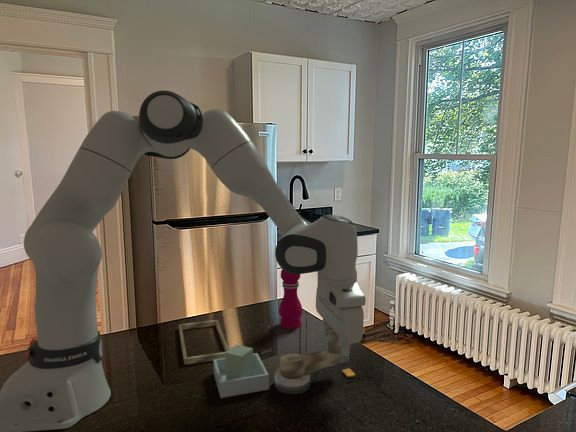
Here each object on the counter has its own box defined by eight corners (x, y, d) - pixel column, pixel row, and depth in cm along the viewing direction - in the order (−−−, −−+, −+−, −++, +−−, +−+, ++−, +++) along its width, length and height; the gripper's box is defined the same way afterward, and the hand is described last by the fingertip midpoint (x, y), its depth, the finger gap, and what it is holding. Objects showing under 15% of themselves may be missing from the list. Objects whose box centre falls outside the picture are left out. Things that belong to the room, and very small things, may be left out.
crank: (285, 380, 90) (285, 343, 89) (276, 368, 96) (276, 333, 94) (344, 367, 96) (344, 332, 95) (332, 356, 101) (333, 323, 100)
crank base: (280, 397, 89) (280, 384, 89) (270, 378, 97) (270, 367, 97) (360, 382, 95) (360, 370, 95) (345, 365, 103) (345, 354, 102)
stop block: (242, 386, 93) (242, 356, 92) (226, 381, 95) (225, 352, 94) (253, 376, 97) (252, 348, 96) (237, 372, 99) (236, 344, 98)
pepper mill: (300, 330, 123) (300, 264, 120) (276, 328, 125) (275, 263, 122) (304, 320, 130) (304, 258, 127) (281, 319, 132) (281, 257, 129)
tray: (220, 398, 89) (220, 382, 89) (213, 373, 99) (213, 359, 99) (268, 389, 92) (268, 374, 92) (257, 366, 102) (257, 352, 102)
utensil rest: (184, 365, 103) (183, 359, 103) (178, 329, 125) (178, 324, 124) (230, 357, 107) (230, 352, 107) (217, 324, 128) (217, 319, 128)
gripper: (309, 275, 103) (309, 328, 105) (340, 303, 83) (339, 368, 85) (333, 273, 105) (333, 325, 107) (369, 300, 85) (367, 364, 87)
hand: (336, 345), depth 96 cm, fingers open, 8 cm apart
